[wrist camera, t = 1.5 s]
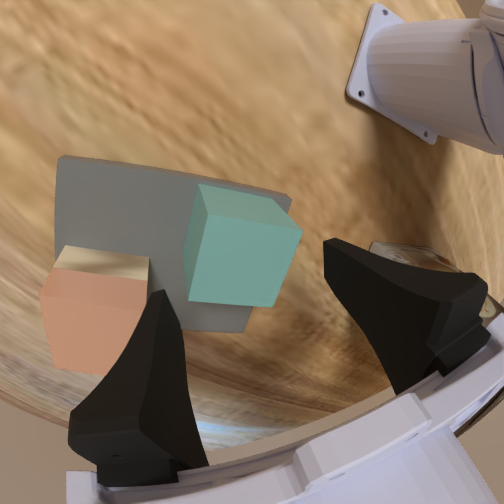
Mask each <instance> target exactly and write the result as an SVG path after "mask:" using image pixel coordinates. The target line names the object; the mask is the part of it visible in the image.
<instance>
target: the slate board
mask: <svg viewBox="0 0 504 504" xmlns="http://www.w3.org/2000/svg"><path fill="white" fill-rule="evenodd" d="M198 184H202V185H208V186H213V187H218V188H223V189H228V190H233V191H238V192H243V193H248V194H252V195H257V196H262V197H266V198H271V199H273V200H274V201H275V202H276V203H277V204H278V205H279V206H280V207H281V208H282V209H283V210H284V211H285V213H286V214H287V212H288V210H289V207H290V204H291V201H292V199H291V198H290V197H289V196H288V195H287V194H283V193H279V192H275V191H271V190H267V189H262V188H258V187H253V186H249V185H244V184H240V183H235V182H230V181H225V180H221V179H216V178H211V177H206V176H200V175H195V174H190V173H184V172H179V171H173V170H167V169H161V168H155V167H149V166H143V165H136V164H130V163H123V162H116V161H108V160H101V159H93V158H84V157H76V156H66V155H64V156H62V157H60V158H59V159H58V164H57V176H56V191H55V259H56V261H57V259H58V257H59V255H60V254H61V252H62V250H63V248H64V247H65V245H67V246H74V247H80V248H87V249H94V250H101V251H108V252H115V253H122V254H130V255H137V256H144V257H149V266H148V281H147V298H146V303H147V301H148V299H149V296H150V294H151V293H152V292H156V291H159V290H163V289H165V291H166V293H167V296H168V298H169V300H170V302H171V305H172V307H173V309H174V311H175V313H176V315H177V317H178V320H179V322H180V325H181V330H194V331H209V332H228V333H243V332H244V329H245V327H246V324H247V321H248V319H249V316H250V313H251V311H252V308H253V306H245V305H231V304H219V303H207V302H196V301H188V297H187V289H186V281H185V273H184V264H183V255H182V254H183V249H184V244H185V239H186V235H187V230H188V226H189V221H190V217H191V212H192V208H193V204H194V200H195V196H196V191H197V187H198Z"/></svg>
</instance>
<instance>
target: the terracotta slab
mask: <svg viewBox="0 0 504 504" xmlns="http://www.w3.org/2000/svg"><path fill="white" fill-rule="evenodd" d="M146 298H147V281H146V280H138V279H130V278H123V277H115V276H108V275H101V274H94V273H87V272H81V271H74V270H68V269H61V268H55V267H53V268H52V270H51V272H50V274H49V276H48V278H47V280H46V282H45V284H44V286H43V288H42V290H41V292H40V294H39V299H40V305H41V311H42V316H43V321H44V326H45V331H46V335H47V339H48V343H49V347H50V351H51V355H52V359H53V362H54V366H55V367H56V368H61V369H66V370H72V371H77V372H84V373H90V374H97V375H104V376H106V375H107V373H108V372H109V371H110V369H111V368H112V367H113V365H114V364H115V362H116V361H117V360H118V358H119V356H120V355H121V353H122V352H123V350H124V348H125V347H126V345H127V343H128V341H129V339H130V337H131V335H132V334H133V332H134V330H135V328H136V325H137V323H138V321H139V319H140V317H141V315H142V312H143V310H144V308H145V305H146Z"/></svg>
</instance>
